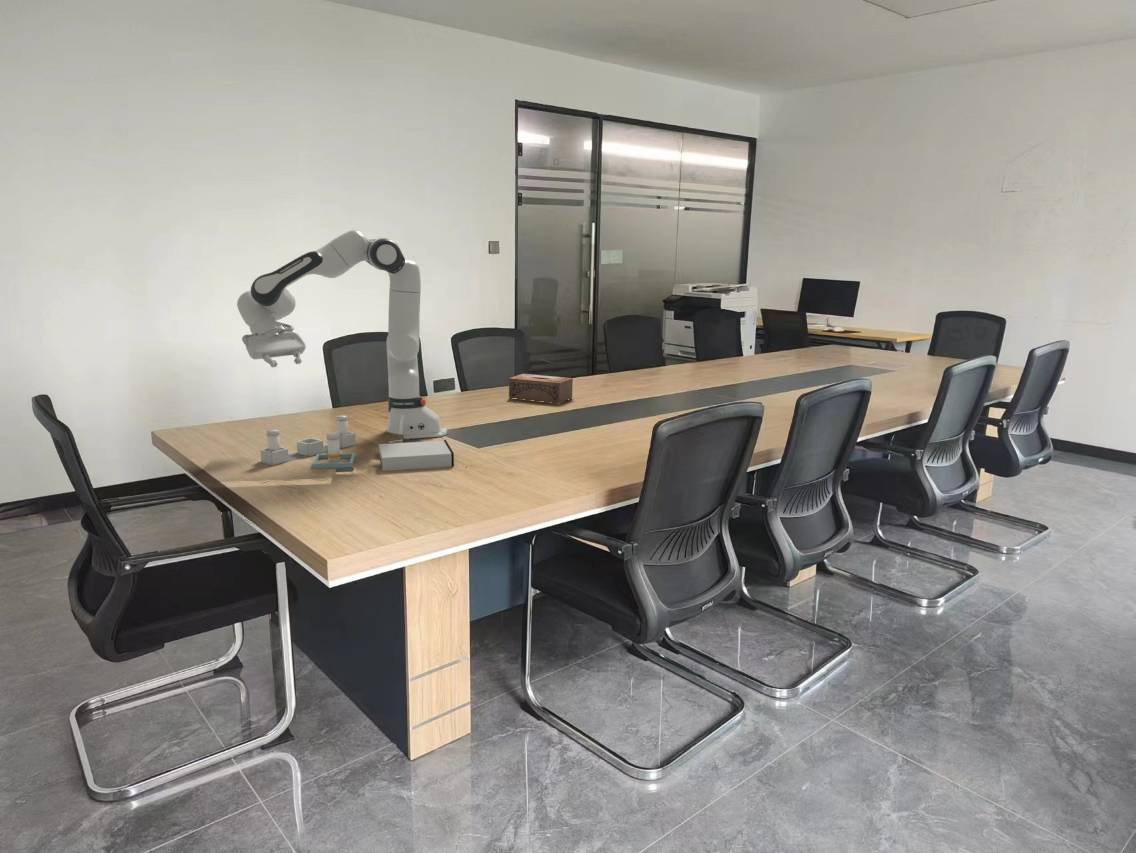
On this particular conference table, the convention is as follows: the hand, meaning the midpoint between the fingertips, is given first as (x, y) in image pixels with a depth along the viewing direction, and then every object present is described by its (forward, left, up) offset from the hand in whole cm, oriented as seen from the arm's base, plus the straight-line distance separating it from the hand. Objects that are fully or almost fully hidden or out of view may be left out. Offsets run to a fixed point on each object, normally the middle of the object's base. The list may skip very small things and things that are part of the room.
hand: (287, 364), depth 261 cm
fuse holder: (-8, +11, -29) cm, 32 cm away
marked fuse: (-17, +24, -29) cm, 41 cm away
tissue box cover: (-98, -81, -30) cm, 130 cm away
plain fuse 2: (-17, +2, -28) cm, 33 cm away
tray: (-17, +24, -29) cm, 41 cm away
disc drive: (-42, +20, -30) cm, 55 cm away
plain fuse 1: (+2, +21, -28) cm, 35 cm away
